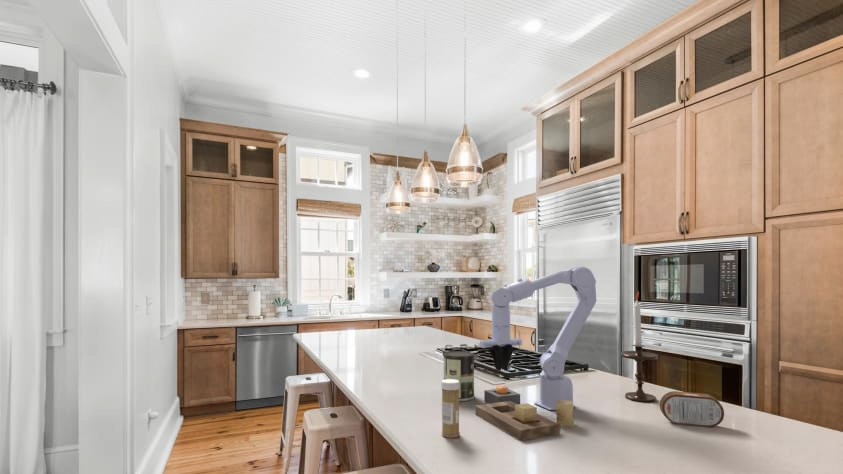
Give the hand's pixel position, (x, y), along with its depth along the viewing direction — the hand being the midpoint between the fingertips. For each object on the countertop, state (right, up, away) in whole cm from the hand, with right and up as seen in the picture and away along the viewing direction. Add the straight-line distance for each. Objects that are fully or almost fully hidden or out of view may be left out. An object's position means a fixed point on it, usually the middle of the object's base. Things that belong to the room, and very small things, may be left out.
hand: (501, 369), depth 139 cm
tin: (+48, -9, -20) cm, 53 cm away
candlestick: (+46, -11, +5) cm, 48 cm away
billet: (+2, -9, -24) cm, 25 cm away
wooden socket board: (0, -9, -19) cm, 21 cm away
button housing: (0, -10, -1) cm, 10 cm away
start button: (0, -8, -1) cm, 8 cm away
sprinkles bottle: (-18, -8, -28) cm, 34 cm away
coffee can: (-13, -11, +7) cm, 18 cm away
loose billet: (+14, -9, -20) cm, 26 cm away
